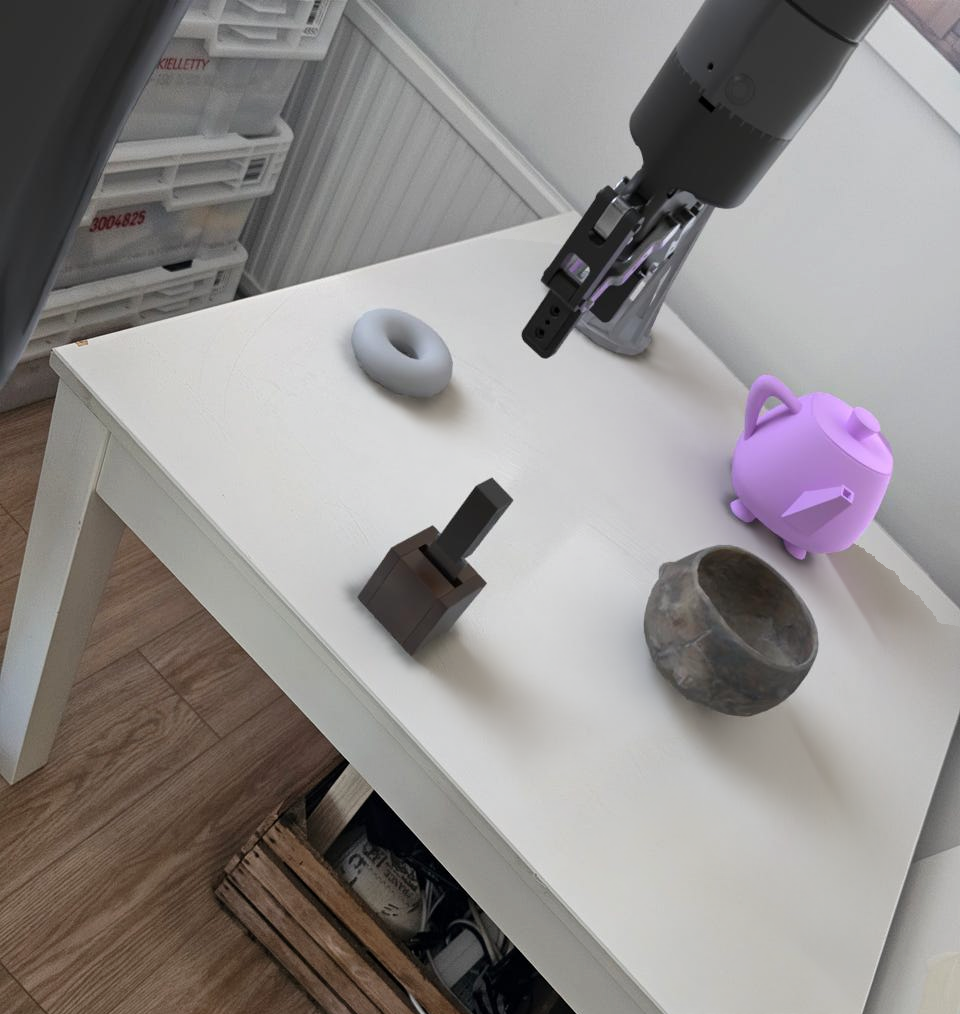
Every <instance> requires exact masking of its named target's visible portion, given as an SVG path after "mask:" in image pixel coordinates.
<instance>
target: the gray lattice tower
mask: <svg viewBox="0 0 960 1014" xmlns="http://www.w3.org/2000/svg"><path fill="white" fill-rule="evenodd" d="M715 209H716V207H713V206H710V205H708V207H707V208H706V209H705V211H704V212H703V213H702V215H701V216H700V218H699V219H698V220H697V222H696V223H695V224H694V226H693V227H692V228H691V230H690V231H689V233H688V234H687V235H686V237H685V238H684V239H683V241H682V242H681V243H680V245H679V246H678V248H677V249H676V250H675V252H674V253H675V254H674V255H673V257H672V258H671V259H670V260H669V259H668V260H667V261H666V262H664V263H663V262H662V263H659V265H658V266H657V267H658V268H657V270H656V271H655V272H654V273H653V274H651V276H650V277H649V278H648V280H647V281H646V283H645V284H644V285H643V287H642V288H641V290H640V291H639V292H638V294H637V295H636V296H635V298H633V299H631V297H630V298H629V299H628V300H627V302H626V303H625V304H624V306H623V307H622V309H621V310H620V311H619V313H618V314H617V315H616V317H615V318H614V319H612V320H611V321H609V322H607V323H604V322H602V321H600V320H599V319H598V318H597V317H596V316H595V315H594V314H593V313H592V312H590V311H589V310H588V309H587V310H586V311H585V313H584V314H583V316H582V317H581V318H580V320H579V321H578V323H577V324H576V325H575V327H576V329H578V330H579V331H580V332H581V333H582V334H583V335H585V336H586V337H587V338H588V339H590V340H591V341H592V342H593V343H595V344H596V345H599V346H600V347H603V348H605V349H607V350H609V351H611V352H613V353H615V354H621V355H627V356H634V355H638V354H641V353H644V351H645V350H646V349H647V347H648V346H649V344H650V342H651V340H652V339H653V337H652V332H651V331H652V328H653V326H654V324H655V322H656V320H657V317H658V315H659V313H660V311H661V308H662V306H663V304H664V302H665V300H666V297H667V295H668V293H669V291H670V289H671V288H672V286H673V284H674V282H675V280H676V278H677V277H678V275H679V273H680V272H681V269H682V268H683V265H684V264H685V262H686V261H687V259H688V257H689V255H690V253H691V251H692V250H693V248H694V246H695V245H696V242H697V241H698V239H699V237H700V235H701V233H702V232H703V230H704V229H705V227H706V225H707V223H708V221H709V219H710V218H711V216H712V214H713V213H714V210H715ZM588 268H589V267H588V266H587V265H586V264H585V263H584V262H583V263H582V264H581V265H580V266H579V267H578V268H577V269H576V270H575V271H574V272H573V273H572V274H574V275H575V276H576V277H577V278H578V279H579V280H580V281H581V282H582V283H583V281H584V280H585V279H586V277H587V276H588V274H589V272H590V270H587V269H588ZM667 272H668V273H667ZM665 275H666V276H665ZM664 277H665V278H664ZM663 278H664V280H663ZM662 280H663V282H662V283H661V281H662ZM660 283H661V285H660V286H659V284H660ZM658 287H659V288H658ZM657 289H658V290H657ZM656 291H657V292H656ZM575 327H574V328H575Z"/></svg>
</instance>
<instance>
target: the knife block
mask: <svg viewBox="0 0 960 1014" xmlns="http://www.w3.org/2000/svg"><path fill="white" fill-rule="evenodd" d="M439 533H441V532H440V531H439V529H437V527H435V525H433V524H431V525H430V526H428V527H426V528H425V529H422V530H421V531H419V532H417V533H415V534H413V535H411V536H410V537H408V538H406V539H404V540H402V541H400V542H398V543H397V544H395V545H393V546H391V547H390V549H388V552H386V554H385V556H384V557H383V559H382V560H381V561H380V563H379V564H378V566H377V567H376V569H375V570H374V571H373V573H372V574H371V576H370V578H369V579H368V581H367V582H366V584H365V585H364V586H363V588H362V589H361V590H360V592H359V594H358V595H357V599H358V600H359V601H360V602H361V603H362V604H363V605H364V606H365V607H366V608H367V609H368V610H369V612H370V613H371V614H372V615H373V616H374V617H375V618H376V619H377V621H378V622H379V623H380V624H381V625H382V627H384V628H385V629H386V630H387V632H389V633H390V634H391V636H392V637H393V638H394V639H395V640H396V641H397V643H399V644H400V646H402V648H404V650H405V651H406V652H407V653H408V654H409V655H410V656H412V655H414V654H415V653H417V652H419V650H421V649H423V648H425V646H427V645H429V644H430V643H432V642H433V641H435V640H436V639H438V638H439V637H440V636H442V635H443V634H446V632H448V631H450V630H451V629H452V627H453V626H454V625H455V624H456V622H457V621H458V620H459V619H460V617H462V615H463V614H464V613H465V611H466V610H467V609H468V608H469V606H470V605H471V604H472V603H473V601H474V600H475V599H476V598H477V597H478V596H479V594H480V593H481V592H482V591H483V590H484V588H485V587H486V586H487V584H488V582H487V581H486V580H485V579H484V578H483V577H482V576H481V574H479V573H478V571H477V570H476V569H475V568H474V567H473V566H472V565H471V564H470V563H469V562H468V564H467V566H466V567H465V568H464V570H463V571H462V572H461V573H460V575H459V576H458V577H457V578H456V580H455V581H454V582H453V584H452V585H451V584H450V583H449V581H448V580H447V579H446V578H445V577H444V576H443V575H442V574H441V573H440V572H439V571H438V570H437V569H436V568H435V566H434V565H433V564H432V563H431V562H430V561H429V560H428V559H427V558H426V557H425V556H424V555H423V554H424V552H425V551H426V550H427V548H428V547H429V546H430V544H431V543H432V541H433V540H434V539H435V537H436V536H437V535H438V534H439Z"/></svg>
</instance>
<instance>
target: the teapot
mask: <svg viewBox="0 0 960 1014" xmlns="http://www.w3.org/2000/svg"><path fill="white" fill-rule="evenodd" d="M770 397H774V398H776V399H778V400H779V401H780V402H782V403H781V404H779V405H777V406H775V407H773V408H771V409H770V410H768V411H766V412H764V413H763V414H761V415H760V413H761V410H762V409H763V406H764V404H765V402H766V401H767V400H768V398H770ZM744 413H745V414H744V427H743V430H742V432H741V433H740V435H739V436H738V439H737V440H736V443H735V445H734V449H733V455H732V462H731V473H730V474H731V483H732V487H733V490H734V492H735V494H736V495H737V497H738V498H737V499H735V500H732V501H731V502H730V510H731V511H732V513H733V514H734V516H736V518H738V519H739V520H741V521H742V522H744V523H748V524H749V523H751V522H753V521H754V520H755V519H757V520H758V521H760V522H761V523H762V524H763V525H764V526H765V527H766V528H768V529H769V530H770V531H771V532H773V533H774V534H776V535H777V536H778V537H780V538H782V539H783V545H784V547H785V549H786V551H787V552H788V553H789V554H790V555H791V556H792V557H793V558H795V559H796V560H797V559H798V560H805V558H806V556H807V555H806V554H807V552H808V553H813V554H831V553H838V552H842V551H845V550H846V549H849V548H850V547H851V546H852V545H853V544H854V543H855V542H857V540H859V538H860V537H861V536H862V534H863V533H864V532H865V531H866V530H867V528H868V527H869V526H870V524H871V523H872V521H873V519H874V518H875V516H876V515H877V512H878V511H879V507H880V506H881V504H882V501H883V499H884V497H885V494H886V491H887V489H888V486H889V483H890V480H891V477H892V474H893V470H894V458H893V457H894V456H893V455H894V454H893V450H892V448H891V445H890V442H889V441H888V439H887V438H886V437H885V435H884V434H883V433H882V432H881V425H880V422H879V421H878V419H877V418H876V417H875V416H874V415H873V413H871V412H870V411H868V410H867V409H865V408H863V407H862V406H855V407H852V406H851V405H849V404H847V402H845V401H843V400H841V399H839V398H838V397H836V396H835V395H832V394H830V393H827V392H823V391H816V392H811V393H808V394H805V395H802V396H799V397H797V396H796V395H795V394H794V393H793V392H792V390H791V389H790V388H788V386H786V384H784V383H783V382H782V381H781V379H778V378H777V377H775V376H774V375H771V374H763V375H760V376H759V377H757V378H756V380H755V381H754V382H753V384H752V385H751V387H750V389H749V392H748V394H747V398H746V404H745V412H744ZM759 415H760V416H759Z"/></svg>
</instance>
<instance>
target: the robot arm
mask: <svg viewBox="0 0 960 1014" xmlns="http://www.w3.org/2000/svg"><path fill="white" fill-rule="evenodd" d="M193 1H194V0H0V392H1V391H2V389H3V388H4V386H5V385H6V383H7V382H8V381H9V379H10V377H11V376H12V374H13V372H14V371H15V370H16V368H17V366H18V364H19V363H20V360H21V358H22V356H23V354H24V353H25V350H26V349H27V347H28V344H29V342H30V341H31V338H32V335H33V334H34V332H35V331H36V328H37V325H38V324H39V321H40V318H41V316H42V314H43V311H44V310H45V306H46V304H47V302H48V300H49V298H50V295H51V294H52V290H53V288H54V286H55V283H56V282H57V279H58V276H59V275H60V271H61V269H62V267H63V264H64V263H65V260H66V258H67V256H68V254H69V251H70V248H71V246H72V244H73V241H74V240H75V237H76V234H77V232H78V230H79V227H80V225H81V223H82V220H83V218H84V216H85V214H86V211H87V208H88V207H89V205H90V201H91V200H92V198H93V196H94V193H95V191H96V190H97V189H96V188H97V186H98V184H99V181H100V179H101V177H102V175H103V173H104V171H105V168H106V167H107V165H108V162H109V160H110V158H111V155H112V154H113V151H114V149H115V147H116V145H117V143H118V141H119V139H120V136H121V134H122V132H123V130H124V128H125V127H126V124H127V122H128V120H129V118H130V117H131V115H132V113H133V112H134V109H135V107H136V105H137V103H138V102H139V99H140V98H141V96H142V94H143V92H144V91H145V89H146V87H147V86H148V83H149V81H150V80H151V78H152V76H153V74H154V73H155V71H156V69H157V67H158V66H159V63H160V62H161V61H162V58H163V56H164V55H165V53H166V51H167V49H168V47H169V46H170V44H171V42H172V40H173V37H174V36H175V34H176V33H177V30H178V29H179V26H181V23H182V21H183V19H184V18H185V15H186V14H187V12H188V10H189V8H190V7H191V5H192V3H193ZM893 2H894V0H704V1H703V2H702V4H701V6H699V8H698V10H697V12H696V13H695V15H694V17H693V18H692V20H691V21H690V23H689V24H688V26H687V28H686V29H685V31H684V32H683V34H682V35H681V37H680V38H679V40H678V42H677V43H676V44H675V46H674V47H673V49H672V51H671V52H670V54H669V55H668V57H667V58H666V60H665V61H664V63H663V64H662V66H661V68H660V69H659V71H658V72H657V74H656V75H655V77H654V79H653V80H652V82H651V83H650V85H649V87H647V90H646V91H645V93H644V94H643V95H642V97H641V99H640V100H639V102H638V103H637V105H636V107H635V108H634V109H633V111H632V113H631V115H630V116H629V117H630V118H629V120H628V121H629V122H628V123H629V124H628V125H629V126H628V127H629V133H630V136H631V138H632V141H633V142H634V144H635V146H637V147H638V150H639V151H640V153H641V158H642V165H641V168H640V169H639V170H637V171H636V172H635V174H634V175H633V176H632V177H631V178H630V177H629V176H628V175H625V176H623V177H622V178H621V179H620V180H619V181H618V182H617V183H616V184H615V185H614V187H611V185H610V184H607V185H606V186H605V187H603V188H601V189H600V190H599V191H598V192H597V193H596V195H595V197H594V200H593V201H592V202H591V204H590V206H589V207H588V208H587V210H586V211H585V213H584V214H583V216H582V217H581V219H580V220H579V221H578V223H577V224H576V226H575V228H574V229H573V230H572V232H571V234H570V235H569V236H568V237H567V238H566V241H565V242H564V243H563V245H562V246H561V248H560V250H558V252H557V254H556V256H555V257H554V258H553V260H552V261H551V263H550V264H549V265H548V267H546V269H544V271H543V273H542V276H541V278H540V282H541V283H542V284H543V285H544V286H545V287H546V288H548V289H549V290H548V292H547V293H546V295H545V296H544V297H543V299H542V300H541V302H540V304H539V305H538V307H537V308H536V309H535V311H534V313H533V314H532V315H531V317H530V319H529V320H528V321H527V323H526V325H524V328H523V329H522V330H521V339H522V341H523V343H524V344H526V345H527V346H528V347H529V348H530V349H531V350H532V351H533V352H534V353H535V354H536V355H538V356H539V357H540V359H545V360H547V359H549V358H551V357H553V356H554V355H556V354H557V353H558V351H559V349H560V348H561V346H562V345H563V344H564V342H565V341H566V340H567V338H568V337H569V336H570V334H571V333H572V332H573V330H574V328H575V325H576V324H577V323H578V321H579V320H580V318H581V317H582V316H583V314H584V313H585V311H586V310H587V309H588V310H589V311H590V312H592V313H593V314H594V315H595V316H596V317H597V318H598V319H599V320H600V321H602V322H604V323H607V322H609V321H611V320H612V319H614V318H615V317H616V315H617V314H618V313H619V311H620V310H621V309H622V307H623V306H624V304H625V303H626V302H627V300H628V299H629V298H630V299H631V297H632V295H633V294H634V293H635V291H636V290H637V288H639V286H640V285H641V283H642V282H643V280H644V279H645V277H646V278H648V277H650V275H653V274H654V272H655V271H656V270H657V268H658V267H657V266H658V265H659V263H662V262H663V263H664V262H666V261H667V260H668V259H669V260H670V259H671V258H672V257H673V255H674V254H675V253H674V252H675V250H676V249H677V248H678V246H679V245H680V243H681V242H682V241H683V239H684V238H685V237H686V235H687V234H688V233H689V231H690V230H691V228H692V227H693V226H694V224H695V223H696V222H697V220H698V219H699V218H700V216H701V215H702V213H703V212H704V211H705V209H706V208H707V207H708V205H710V206H713V207H715V208H716V209H717V208H718V209H723V210H731V209H735V208H738V207H740V206H741V205H742V204H744V203H745V202H746V200H747V198H749V196H750V195H751V194H752V192H753V191H754V190H755V188H757V186H758V185H759V183H760V182H761V181H762V179H763V178H764V177H765V175H767V173H768V172H769V171H770V170H771V168H772V167H773V165H774V164H775V163H776V161H777V160H778V159H779V157H780V156H781V155H782V154H783V153H784V151H785V150H786V148H788V146H789V145H790V143H791V142H792V141H793V140H794V138H795V137H796V136H797V134H798V133H800V130H801V129H802V128H803V126H805V124H806V123H807V121H808V120H809V119H810V118H811V116H812V115H813V114H814V112H815V111H816V110H817V109H818V107H819V106H820V105H821V103H822V102H823V101H824V99H825V98H826V97H827V96H828V94H829V92H830V91H831V90H832V89H833V87H834V85H835V83H836V82H837V80H838V79H839V77H840V75H841V74H842V73H843V70H844V69H845V67H846V65H847V64H848V62H849V61H850V59H851V57H852V56H853V54H854V53H855V51H856V50H857V48H859V46H860V43H862V42H863V41H864V39H865V38H866V36H867V35H869V33H870V31H871V30H872V29H873V28H874V26H875V25H876V23H877V22H878V21H879V20H880V18H881V17H882V16H883V15H884V13H885V12H886V11H887V10H888V8H889V7H890V6H891V4H892V3H893ZM583 262H584V263H585V264H586V265H587V266H588V267H587V268H588V269H589V270H588V271H589V274H588V276H587V277H586V279H585V280H584V281H583V283H582V282H581V281H580V280H579V279H578V278H577V277H576V276H575V275H574V274H572V273H573V272H574V271H575V270H576V269H577V268H578V267H579V266H580V265H581V264H582V263H583Z"/></svg>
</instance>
